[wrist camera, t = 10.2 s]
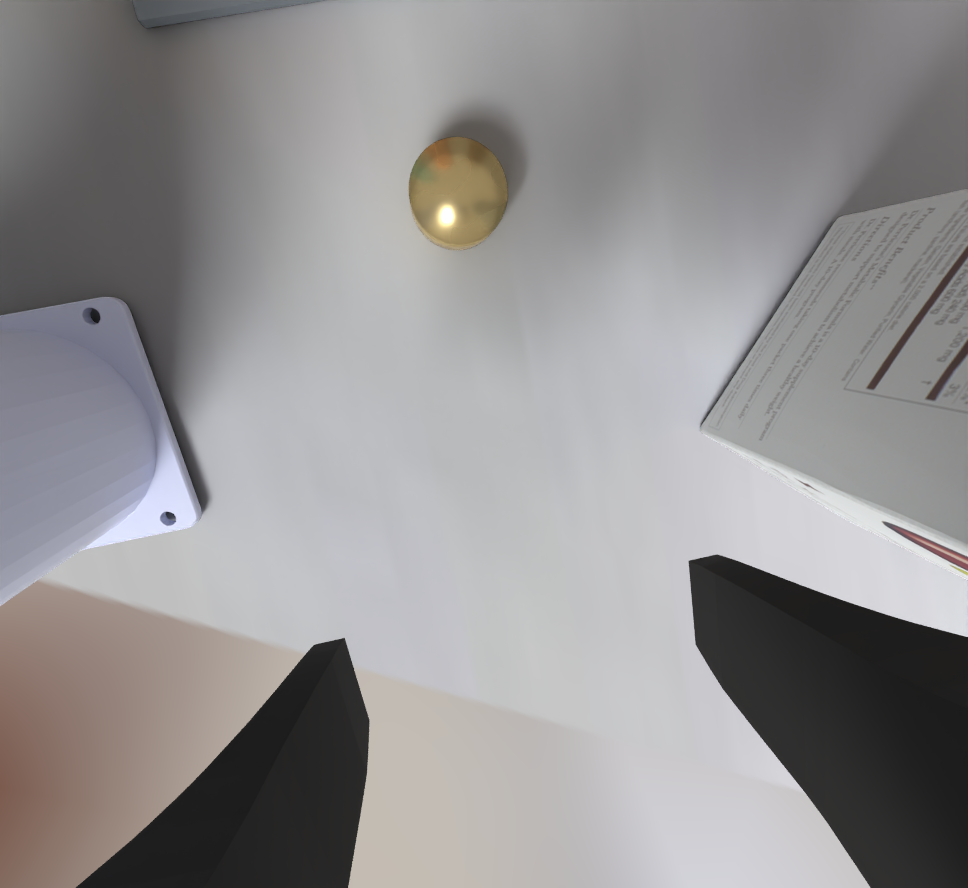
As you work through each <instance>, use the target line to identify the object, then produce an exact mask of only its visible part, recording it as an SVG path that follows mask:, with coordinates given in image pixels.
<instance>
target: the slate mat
mask: <svg viewBox="0 0 968 888" xmlns="http://www.w3.org/2000/svg"><path fill="white" fill-rule="evenodd" d="M318 1H325V0H132V2H133V6H134V9H135V12H136V15H137V19H138V21H139V22H140V23H141V24H142V25H143V26H144V27H145V28H150V27H157V26H163V25H170V24H176V23H182V22H189V21H195V20H202V19H208V18H215V17H221V16H228V15H234V14H241V13H247V12H254V11H260V10H266V9H273V8H279V7H286V6H292V5H299V4H305V3H312V2H318Z"/></svg>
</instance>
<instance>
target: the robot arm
mask: <svg viewBox="0 0 968 888" xmlns="http://www.w3.org/2000/svg"><path fill="white" fill-rule="evenodd" d="M92 309H96V310H97V311H98V312H99V314H100V318H101V319H100V321H99V323H95V322H93V320H92V319H91V316H90V313H91V311H92ZM166 512H171V513H173V514H174V515H175V517H176V521H171V520H169V519H168V518H167V517H166ZM201 515H202V512H201V507H200V504H199V502H198V499H197V496H196V493H195V490H194V488H193V485H192V482H191V479H190V476H189V474H188V471H187V468H186V465H185V462H184V460H183V457H182V454H181V451H180V449H179V446H178V443H177V440H176V437H175V435H174V432H173V429H172V426H171V423H170V421H169V418H168V415H167V412H166V409H165V407H164V404H163V401H162V398H161V395H160V393H159V390H158V387H157V384H156V381H155V379H154V376H153V373H152V370H151V368H150V365H149V362H148V359H147V356H146V354H145V351H144V348H143V345H142V342H141V340H140V337H139V334H138V331H137V328H136V326H135V323H134V320H133V317H132V314H131V312H130V309H129V308H128V306H127V304H126V303H124V302H123V301H122V300H121V299H118V298H115V297H99V298H94V299H88V300H83V301H77V302H72V303H66V304H61V305H55V306H50V307H44V308H39V309H33V310H28V311H22V312H17V313H11V314H6V315H0V606H1V605H2V604H4V603H5V602H6V601H8V600H9V599H11V598H12V597H14V596H15V595H17V594H18V593H19V592H21V591H22V590H24V589H25V588H27V587H28V586H30V585H31V584H33V583H34V582H35V581H37V580H38V579H40V578H41V577H43V576H44V575H46V574H47V573H49V572H50V571H51V570H53V569H54V568H56V567H57V566H59V565H60V564H62V563H63V562H65V561H66V560H67V559H69V558H70V557H72V556H73V555H75V554H76V553H78V552H79V551H81V550H84V549H89V548H94V547H99V546H104V545H108V544H113V543H118V542H123V541H128V540H133V539H137V538H142V537H147V536H152V535H157V534H161V533H166V532H171V531H176V530H181V529H186V528H189V527H192V526H193V525H195V524H196V523H197V522H198V521H199V520H200V518H201ZM689 570H690V582H691V594H692V606H693V617H694V629H695V641H696V646H697V647H698V649H699V651H700V652H701V654H702V656H703V657H704V659H705V661H706V662H707V664H708V666H709V668H710V669H711V671H712V672H713V674H714V676H715V677H716V679H717V680H718V682H719V683H720V685H721V687H722V688H723V690H724V691H725V692H726V693H727V695H728V696H729V697H730V699H731V700H732V701H733V703H734V704H735V705H736V706H737V708H738V709H739V710H740V711H741V713H742V714H743V715H744V717H745V718H746V719H747V720H748V722H749V723H750V724H751V725H752V727H753V728H754V729H755V730H756V732H757V733H758V734H759V735H760V737H761V738H762V739H763V740H764V742H765V743H766V744H767V745H768V747H769V748H770V749H771V750H772V752H773V753H774V754H775V755H776V757H777V758H778V759H779V760H780V762H781V763H782V764H783V765H784V767H785V768H786V769H787V770H788V772H789V773H790V774H791V775H792V777H793V778H794V779H795V780H796V782H797V783H798V784H799V785H800V787H801V788H802V789H803V790H804V792H805V793H806V794H807V796H808V797H809V798H810V799H811V801H812V802H813V804H814V805H815V806H816V808H817V809H818V810H819V812H820V813H821V815H822V816H823V817H824V819H825V820H826V821H827V823H828V824H829V826H830V827H831V829H832V830H833V832H834V833H835V835H836V836H837V838H838V839H839V841H840V842H841V844H842V845H843V847H844V848H845V850H846V851H847V853H848V854H849V856H850V857H851V859H852V860H853V862H854V863H855V865H856V866H857V868H858V869H859V871H860V872H861V874H862V875H863V877H864V878H865V880H866V881H867V883H868V884H869V886H870V887H871V888H968V637H964V636H961V635H957V634H953V633H949V632H946V631H942V630H938V629H934V628H931V627H927V626H923V625H919V624H915V623H912V622H909V621H905V620H902V619H898V618H895V617H892V616H888V615H885V614H882V613H879V612H876V611H873V610H870V609H867V608H864V607H861V606H858V605H855V604H852V603H849V602H846V601H843V600H840V599H837V598H834V597H831V596H829V595H826V594H823V593H820V592H818V591H815V590H812V589H809V588H807V587H804V586H801V585H799V584H796V583H794V582H791V581H788V580H786V579H783V578H780V577H778V576H775V575H773V574H770V573H767V572H765V571H762V570H760V569H757V568H754V567H752V566H749V565H746V564H744V563H741V562H738V561H736V560H733V559H730V558H727V557H723V556H720V555H713V556H708V557H704V558H699V559H695V560H690V561H689ZM368 742H369V718H368V714H367V711H366V708H365V704H364V701H363V698H362V695H361V691H360V688H359V685H358V681H357V678H356V675H355V671H354V668H353V665H352V661H351V658H350V655H349V651H348V648H347V645H346V641H345V638H342V639H338V640H334V641H329V642H325V643H320V644H316V645H314V646H313V647H312V648H311V649H310V650H309V651H308V652H307V653H306V655H305V656H304V657H303V658H302V659H301V660H300V662H299V663H298V664H297V665H296V666H295V668H294V669H293V670H292V671H291V673H290V674H289V675H288V676H287V677H286V679H285V680H284V681H283V682H282V683H281V685H280V686H279V687H278V688H277V690H276V691H275V692H274V693H273V694H272V695H271V696H270V698H269V699H268V700H267V701H266V702H265V704H264V705H263V706H262V707H261V708H260V709H259V711H258V712H257V713H256V714H255V715H254V716H253V718H252V719H251V720H250V721H249V722H248V723H247V725H246V726H245V727H244V728H243V729H242V730H241V731H240V732H239V733H238V734H237V735H236V737H235V738H234V739H233V740H232V741H231V742H230V743H229V744H228V746H226V747H225V749H224V750H223V751H222V752H221V753H220V754H219V755H218V756H217V757H216V758H215V759H214V761H213V762H212V763H211V764H210V765H209V766H208V767H207V768H206V769H205V770H204V771H203V772H202V773H201V774H200V775H199V776H198V777H197V778H196V780H195V781H194V782H193V783H192V784H191V785H190V786H189V787H187V789H185V791H184V792H183V793H181V794H180V795H179V796H178V797H177V799H175V800H174V801H173V802H172V803H171V804H170V805H169V806H168V807H167V808H166V809H165V810H164V811H163V812H162V813H161V814H159V815H158V816H157V817H156V818H155V819H154V820H153V821H152V822H151V823H150V824H149V825H148V826H147V827H146V828H144V829H143V830H142V831H141V832H140V833H139V834H138V835H137V836H136V837H135V838H134V839H132V840H131V841H130V842H129V843H128V844H127V845H125V846H124V847H123V848H122V849H121V850H119V851H118V852H117V853H116V854H115V855H114V856H112V857H111V858H110V859H109V860H108V861H107V862H106V863H104V864H103V865H102V866H101V867H99V868H98V869H97V870H96V871H95V872H94V873H92V874H91V875H90V876H89V877H88V878H87V879H85V880H84V881H83V882H82V883H81V884H80V885H78V886H77V887H76V888H348V885H349V878H350V872H351V867H352V861H353V855H354V849H355V843H356V837H357V831H358V825H359V819H360V813H361V807H362V801H363V795H364V789H365V782H366V775H367V762H368Z"/></svg>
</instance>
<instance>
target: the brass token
mask: <svg viewBox="0 0 968 888" xmlns="http://www.w3.org/2000/svg"><path fill="white" fill-rule="evenodd" d="M507 197H508V188H507V181H506V177H505V174H504V171H503V168H502V167H501V165H500V163H499V161H498V160H497V158H496V157H495V156H494V154H493V153H492V152H491V151H490V150H489V149H487V148H486V147H485V146H483V145H482V144H480V143H479V142H477V141H474V140H472V139H469V138H464V137H449V138H445V139H441V140H439V141H437V142H435V143H433V144H432V145H430V146H429V147H428V148H426V149H425V150H424V151H423V152H422V154H421V155H420V156H419V157H418V159H417V160H416V162H415V164H414V166H413V169H412V172H411V175H410V180H409V198H410V204H411V210H412V214H413V217H414V220H415V222H416V224H417V226H418V228H419V229H420V231H421V232H422V233H423V234H424V235H425V236H426V237H427V238H428V239H429V240H430V241H431V242H433V243H434V244H436V245H438V246H440V247H442V248H446V249H450V250H465V249H469V248H472V247H474V246H477V245H478V244H480V243H481V242H483V241H484V240H485V239H486V238H487V237H488V236H489V235H490V234H491V233H492V231H493V230H494V229H495V228H496V227H497V225H498V224H499V222H500V220H501V219H502V217H503V214H504V212H505V208H506V204H507Z"/></svg>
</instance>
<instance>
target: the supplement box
mask: <svg viewBox="0 0 968 888" xmlns="http://www.w3.org/2000/svg"><path fill="white" fill-rule="evenodd" d="M700 431H701V433H703V434H704V435H705V436H707V437H709V438H710V439H712V440H714V441H715V442H717V443H719V444H720V445H722V446H724V447H725V448H727V449H729V450H730V451H732V452H733V453H735V454H737V455H738V456H740V457H742V458H743V459H745V460H747V461H748V462H750V463H751V464H753V465H755V466H756V467H758V468H760V469H761V470H763V471H765V472H766V473H768V474H769V475H771V476H773V477H774V478H776V479H778V480H779V481H781V482H782V483H784V484H786V485H787V486H789V487H791V488H793V489H794V490H796V491H798V492H799V493H801V494H803V495H804V496H806V497H808V498H809V499H811V500H813V501H815V502H816V503H818V504H820V505H821V506H823V507H825V508H827V509H828V510H830V511H832V512H834V513H835V514H837V515H839V516H840V517H842V518H844V519H846V520H847V521H849V522H851V523H853V524H855V525H856V526H858V527H860V528H863V529H865V530H867V531H869V532H871V533H873V534H876V535H878V536H880V537H882V538H884V539H886V540H888V541H890V542H892V543H894V544H896V545H898V546H900V547H902V548H904V549H906V550H908V551H910V552H912V553H914V554H916V555H918V556H920V557H921V558H923V559H925V560H927V561H929V562H931V563H933V564H935V565H937V566H939V567H941V568H943V569H945V570H947V571H949V572H951V573H953V574H955V575H957V576H959V577H961V578H963V579H965V580H967V581H968V188H967V189H963V190H958V191H954V192H949V193H944V194H940V195H936V196H931V197H927V198H922V199H917V200H912V201H908V202H904V203H900V204H895V205H890V206H885V207H881V208H876V209H872V210H868V211H863V212H858V213H853V214H849V215H844V216H840V217H838V218H837V219H836V221H835V222H834V224H833V225H832V227H831V228H830V230H829V231H828V233H827V234H826V236H825V237H824V239H823V240H822V242H821V243H820V245H819V246H818V248H817V250H816V251H815V253H814V254H813V256H812V257H811V259H810V260H809V262H808V263H807V265H806V266H805V268H804V269H803V271H802V273H801V274H800V276H799V277H798V279H797V280H796V282H795V283H794V285H793V286H792V288H791V289H790V291H789V293H788V294H787V296H786V297H785V299H784V300H783V302H782V303H781V305H780V306H779V308H778V309H777V311H776V313H775V314H774V316H773V317H772V319H771V320H770V322H769V323H768V325H767V326H766V328H765V329H764V331H763V333H762V334H761V336H760V337H759V339H758V340H757V342H756V343H755V345H754V346H753V348H752V350H751V351H750V353H749V354H748V356H747V357H746V359H745V360H744V362H743V363H742V365H741V366H740V368H739V369H738V371H737V372H736V374H735V375H734V377H733V378H732V380H731V382H730V383H729V385H728V386H727V388H726V389H725V391H724V393H723V394H722V396H721V397H720V399H719V400H718V402H717V403H716V405H715V406H714V408H713V409H712V411H711V412H710V414H709V415H708V417H707V418H706V420H705V421H704V423H703V424H702V426H701V428H700Z"/></svg>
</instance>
